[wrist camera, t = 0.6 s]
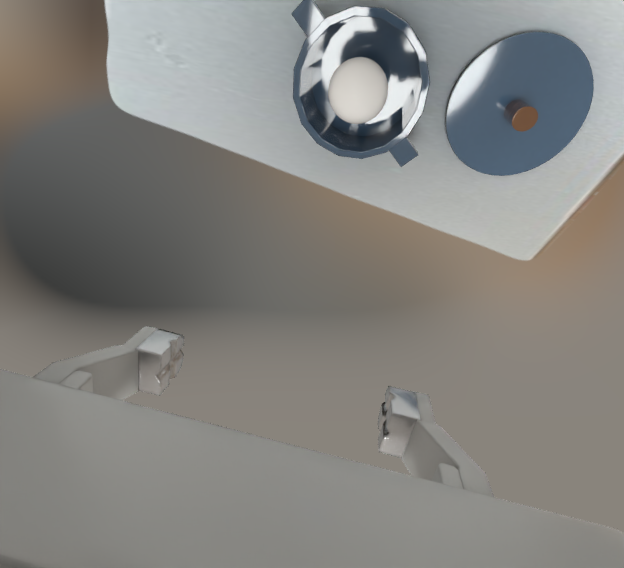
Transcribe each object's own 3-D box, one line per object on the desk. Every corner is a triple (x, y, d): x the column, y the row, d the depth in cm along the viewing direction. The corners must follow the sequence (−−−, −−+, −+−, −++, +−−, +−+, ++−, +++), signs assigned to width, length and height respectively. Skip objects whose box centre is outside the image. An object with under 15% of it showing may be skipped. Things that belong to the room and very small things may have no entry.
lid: (554, -7, 38) (574, -9, 34) (610, 119, 44) (633, 131, 39) (421, 99, 46) (423, 108, 42) (482, 194, 52) (489, 211, 47)
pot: (363, -53, 39) (356, -64, 33) (459, 107, 46) (468, 121, 40) (268, 53, 46) (250, 59, 41) (364, 177, 53) (360, 197, 48)
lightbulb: (387, 108, 47) (385, 130, 39) (338, 109, 48) (324, 130, 40) (391, 49, 44) (389, 58, 35) (338, 51, 45) (322, 61, 36)
